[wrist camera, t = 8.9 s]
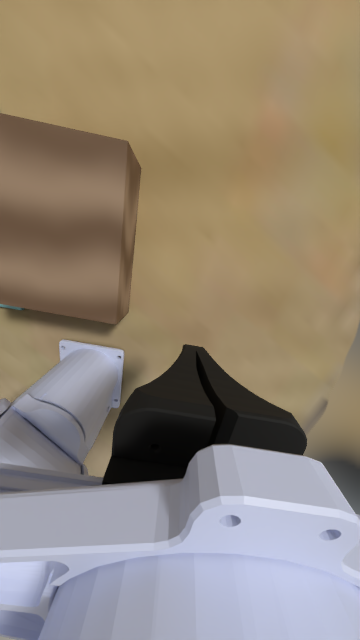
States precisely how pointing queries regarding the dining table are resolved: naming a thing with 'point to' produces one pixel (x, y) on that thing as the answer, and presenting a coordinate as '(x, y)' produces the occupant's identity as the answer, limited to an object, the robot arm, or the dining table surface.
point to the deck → (66, 220)
